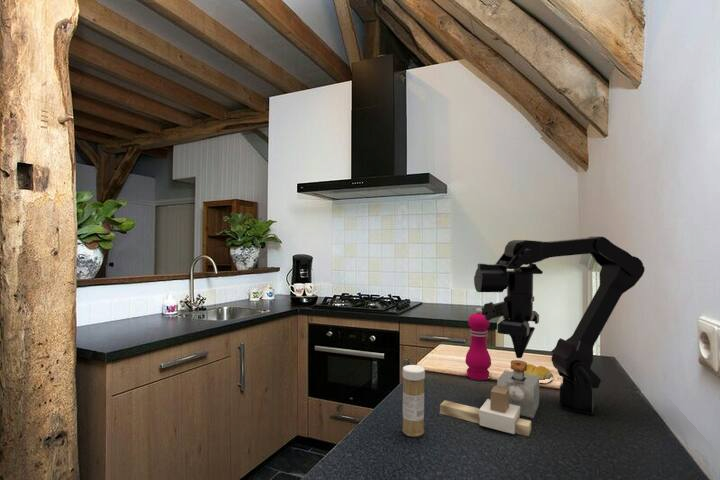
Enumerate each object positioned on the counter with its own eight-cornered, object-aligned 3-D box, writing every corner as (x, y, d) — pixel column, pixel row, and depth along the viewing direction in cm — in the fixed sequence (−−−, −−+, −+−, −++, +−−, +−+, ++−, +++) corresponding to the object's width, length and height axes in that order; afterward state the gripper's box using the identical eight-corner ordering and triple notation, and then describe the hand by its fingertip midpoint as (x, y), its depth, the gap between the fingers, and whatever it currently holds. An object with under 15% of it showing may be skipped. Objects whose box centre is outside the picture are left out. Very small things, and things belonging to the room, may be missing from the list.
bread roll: (524, 372, 121) (525, 358, 121) (555, 379, 114) (556, 366, 114) (512, 378, 115) (513, 364, 115) (544, 387, 108) (545, 372, 108)
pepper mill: (494, 381, 112) (495, 310, 112) (468, 380, 112) (469, 310, 112) (486, 372, 119) (487, 306, 119) (462, 371, 119) (463, 305, 119)
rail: (531, 430, 83) (531, 421, 83) (528, 436, 81) (528, 426, 81) (444, 408, 93) (444, 400, 93) (439, 413, 91) (440, 404, 91)
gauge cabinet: (538, 405, 96) (539, 376, 96) (533, 418, 89) (533, 387, 89) (504, 398, 100) (504, 370, 100) (496, 410, 93) (496, 380, 93)
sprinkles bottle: (415, 425, 85) (416, 363, 85) (428, 435, 81) (429, 369, 81) (397, 429, 83) (398, 365, 83) (409, 439, 79) (410, 372, 79)
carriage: (519, 422, 86) (520, 387, 86) (513, 435, 80) (513, 398, 80) (487, 414, 90) (487, 381, 90) (478, 426, 84) (479, 391, 84)
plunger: (527, 386, 95) (528, 361, 95) (525, 391, 92) (525, 365, 92) (512, 383, 97) (512, 359, 97) (508, 388, 94) (509, 363, 94)
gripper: (494, 286, 107) (494, 343, 107) (474, 294, 91) (474, 362, 91) (539, 289, 101) (538, 350, 101) (526, 298, 85) (525, 371, 85)
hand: (519, 357), depth 94 cm, fingers closed
